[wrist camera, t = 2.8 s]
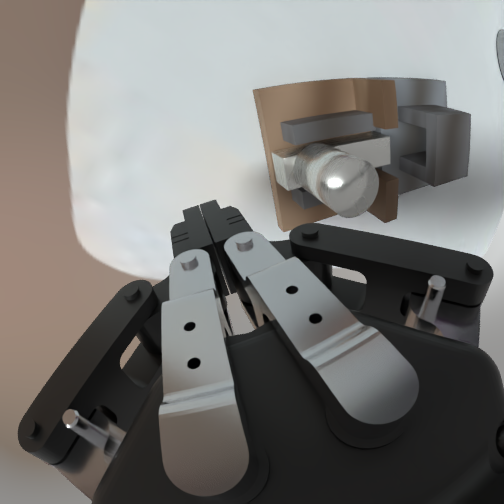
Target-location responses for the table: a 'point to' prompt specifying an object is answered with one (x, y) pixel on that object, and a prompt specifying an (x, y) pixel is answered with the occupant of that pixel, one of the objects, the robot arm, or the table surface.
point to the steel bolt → (336, 170)
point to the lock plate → (362, 121)
